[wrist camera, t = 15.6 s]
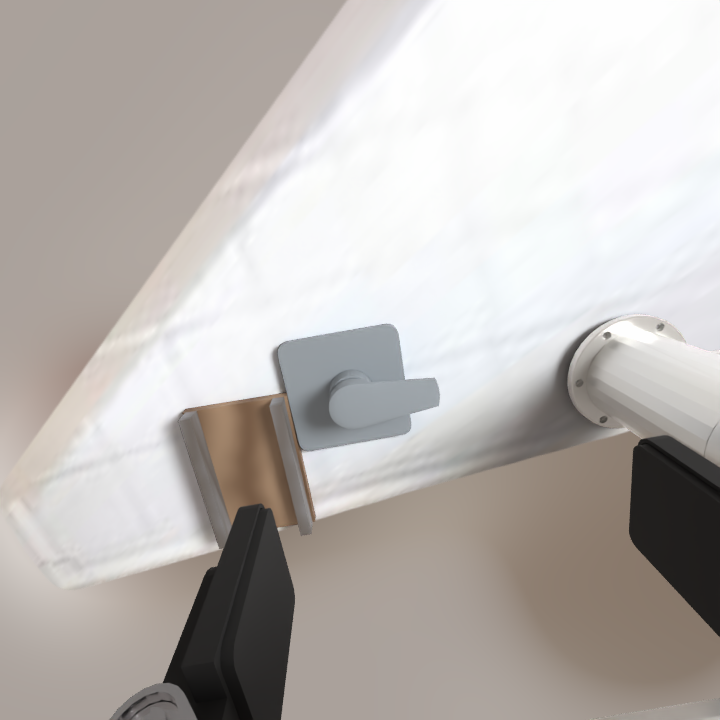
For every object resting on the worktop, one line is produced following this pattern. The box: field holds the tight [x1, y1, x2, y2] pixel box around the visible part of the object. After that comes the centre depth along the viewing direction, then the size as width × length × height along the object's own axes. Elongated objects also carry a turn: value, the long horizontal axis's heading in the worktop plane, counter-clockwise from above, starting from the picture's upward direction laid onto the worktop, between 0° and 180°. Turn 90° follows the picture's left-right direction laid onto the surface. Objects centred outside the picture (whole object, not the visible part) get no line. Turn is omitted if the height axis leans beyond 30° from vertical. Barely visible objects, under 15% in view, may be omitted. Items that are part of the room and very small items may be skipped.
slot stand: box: [178, 393, 316, 549], centre depth 45 cm, size 11×16×3 cm
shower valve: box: [278, 324, 440, 451], centre depth 41 cm, size 12×6×15 cm
